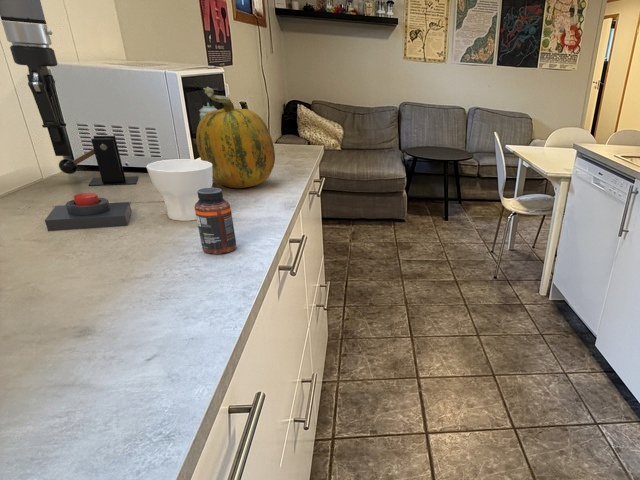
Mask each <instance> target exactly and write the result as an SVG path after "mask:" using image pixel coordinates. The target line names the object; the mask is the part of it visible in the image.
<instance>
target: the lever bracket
mask: <svg viewBox="0 0 640 480" xmlns="http://www.w3.org/2000/svg"><path fill="white" fill-rule="evenodd" d="M106 137H107V139H104V138H106ZM90 141H91V144H92V149H94V152H95V154H94V156H95V159H96V160H95V161H96V164H97V167H98V171H99V174H100V177H99V176H97V177H92V178H91V180H90V182H89V183H88V184H87V186H88V187H106V186H108V187H109V186H131V185H132V186H136V185H137V183H138V180H139V176H138V175H136V176H135V175H131V176H129V175H128V176H126V175H125V171H124V167H123V164H122V159H121V158H122V157H121V155H120V151H119V147H118V143H117V138H116V135H93V138H91V139H90Z"/></svg>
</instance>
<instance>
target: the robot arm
mask: <svg viewBox="0 0 640 480" xmlns="http://www.w3.org/2000/svg"><path fill="white" fill-rule="evenodd" d="M42 5H43V4H42V1H41V0H0V20H1V23H2V27H3V30H4V31H3V32H4V33H5V37H6V40H7V42H9V43H11V45H10V47H9V49H10V52H11V56H12V59H13V62H14V63H15V64H16V65H19V66H26V67H27V70H28V74H27V75H26V78H27V81H28V82H27V85H28V87H29V89H30V91H31V94H32V96H33V99H34V102H35V104H36V108H37V110H38V112H39V115H40V119H41V120H42V124H41V127H42V128H45V129H46V130H47V132H48V136H49V139H50V142H51V145H52V148H53V152H54V155H55V157H70V156H71V151H70V147H69V144H68V140H67V137H66V133H65V129H64V127H67V123H66V122H64V118H63V114H62V110H61V106H60V105H61V104H60V102H59V98H58V92H57V88H56V80H55V78H54V76H53V74H50V71H49V68H48V67H57V66H58V60H57V57H56V53H55V50H54V49H53V48H52V47H50V46H52V44H53V43H52V39H51V36H52V35H53V31H52V30H51V29H48V24H47V21H46V18H45V13H44V10H43V6H42Z"/></svg>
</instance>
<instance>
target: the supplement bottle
mask: <svg viewBox="0 0 640 480" xmlns="http://www.w3.org/2000/svg"><path fill="white" fill-rule="evenodd" d="M197 192H198V198H199V200H198V202H196V204H195V206H194V207H195V213H196V218H197V220H196V223H197V229H198V233H199V239H200V243H201V248H202V250H203V252H205V253H207V254H213V255H220V254H221V255H222V254H227V253H230V252H232V251H234V250H235V249H236V248H237V238H236V233H235V226H234V221H233V214H232V213H233V212H232V208H231V203H230V202H229V201H228V200H226V199H225V198H224V194H223V189H221V188H219V187H211V188H203V189H200V190H198V191H197Z"/></svg>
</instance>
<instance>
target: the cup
mask: <svg viewBox="0 0 640 480" xmlns="http://www.w3.org/2000/svg"><path fill="white" fill-rule="evenodd" d="M146 170H147V173H148V175H149V178H150V181H151V183H152V186H153V188H154V189H156V191H158V192H159V194H160V195H161V197H162V200H163V202H164V204H165V207H166V209H167V210H166V213H167V217H168V218H169V219H170V220H173V221H179V222H191V221H197V218H196V213H195V207H194V206H195V204H196V202H198V200H199V198H198V192H197V191H198V190H200V189H203V188H213V178H212V163H210V162H208V161H203V160H201V159H193V158H175V159H174V158H173V159H163V160H157V161H152V162H150V163H147V165H146Z"/></svg>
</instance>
